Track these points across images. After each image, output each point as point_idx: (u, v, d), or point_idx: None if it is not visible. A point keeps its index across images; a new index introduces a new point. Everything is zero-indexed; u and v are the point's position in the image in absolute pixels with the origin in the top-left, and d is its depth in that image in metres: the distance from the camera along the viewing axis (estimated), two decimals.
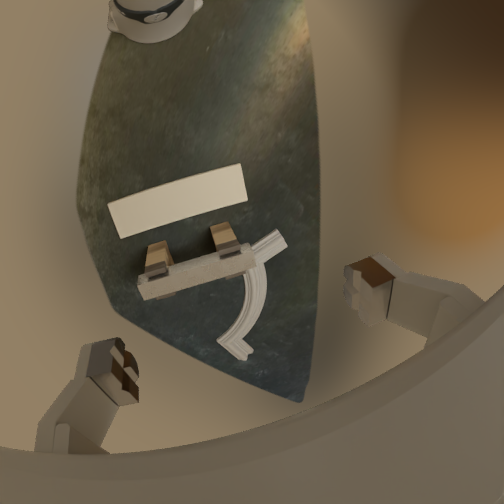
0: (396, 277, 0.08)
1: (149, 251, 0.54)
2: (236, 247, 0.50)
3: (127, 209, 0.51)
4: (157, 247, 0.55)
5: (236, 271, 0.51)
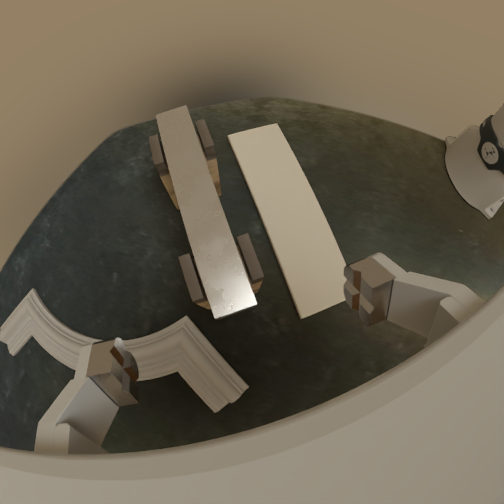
0: (396, 277, 0.08)
1: None
2: (256, 271, 0.23)
3: (271, 144, 0.39)
4: None
5: (203, 271, 0.22)
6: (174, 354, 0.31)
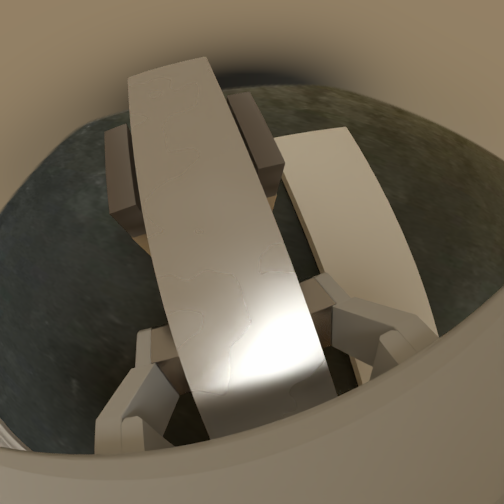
0: (337, 303, 0.07)
1: None
2: None
3: (342, 161, 0.22)
4: None
5: None
6: None
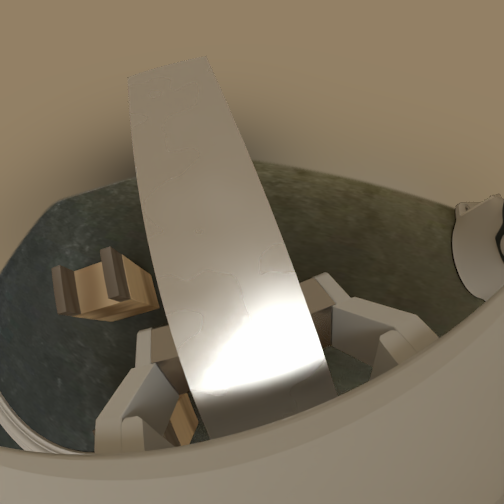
0: (337, 303, 0.07)
1: (143, 273, 0.28)
2: None
3: None
4: (149, 290, 0.28)
5: None
6: None
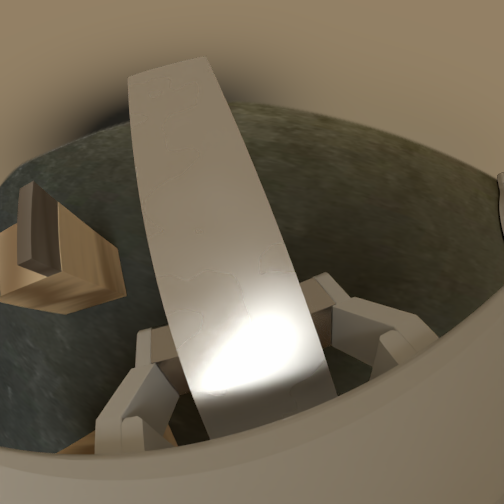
0: (336, 303, 0.07)
1: (101, 242, 0.18)
2: None
3: None
4: (108, 268, 0.18)
5: None
6: None
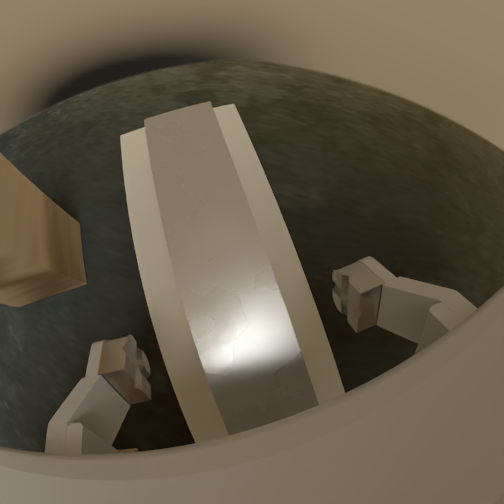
0: (385, 282, 0.08)
1: (54, 210, 0.12)
2: None
3: None
4: (60, 244, 0.12)
5: None
6: None
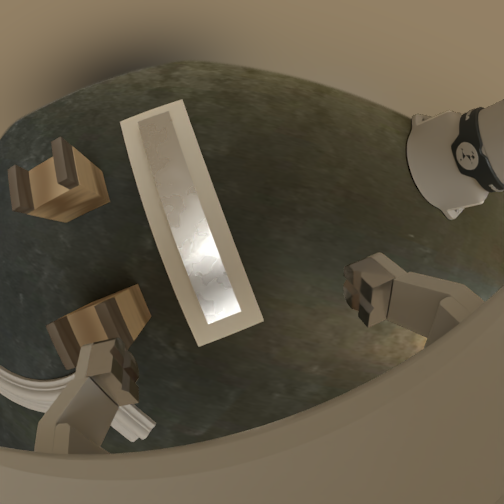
0: (396, 277, 0.08)
1: (94, 167, 0.25)
2: None
3: None
4: (99, 183, 0.26)
5: (196, 287, 0.26)
6: None
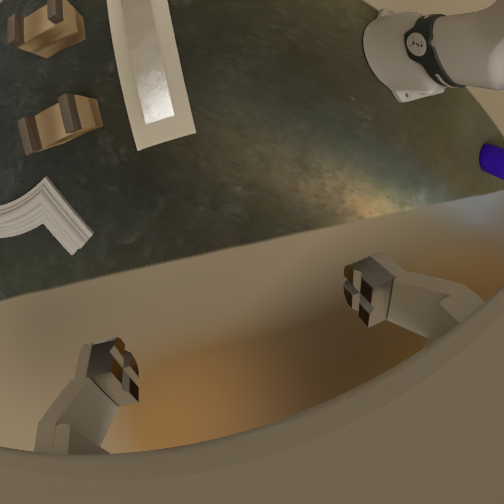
0: (396, 277, 0.08)
1: (77, 13, 0.18)
2: (69, 125, 0.20)
3: None
4: (79, 24, 0.20)
5: (141, 94, 0.26)
6: (39, 210, 0.31)
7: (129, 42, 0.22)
